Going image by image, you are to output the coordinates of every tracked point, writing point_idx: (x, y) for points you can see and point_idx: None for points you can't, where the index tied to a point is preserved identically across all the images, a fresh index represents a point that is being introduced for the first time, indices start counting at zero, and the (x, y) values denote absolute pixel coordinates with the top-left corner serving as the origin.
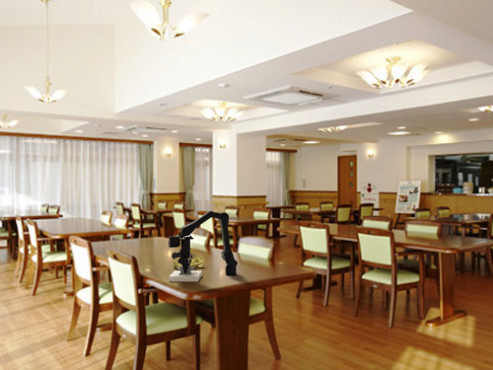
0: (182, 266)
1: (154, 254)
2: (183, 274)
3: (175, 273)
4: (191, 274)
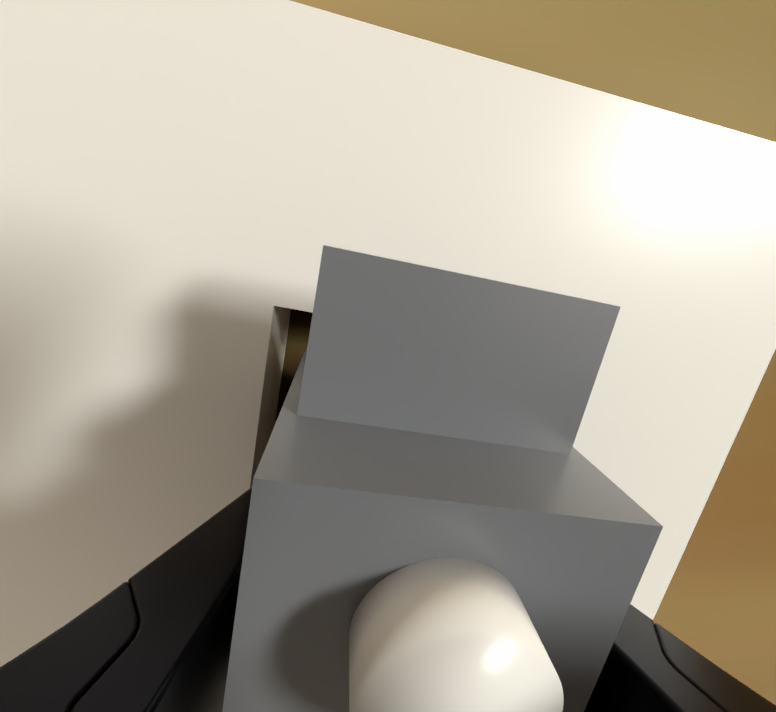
0: (302, 597)
1: None
2: (241, 437)
3: (441, 187)
4: None
